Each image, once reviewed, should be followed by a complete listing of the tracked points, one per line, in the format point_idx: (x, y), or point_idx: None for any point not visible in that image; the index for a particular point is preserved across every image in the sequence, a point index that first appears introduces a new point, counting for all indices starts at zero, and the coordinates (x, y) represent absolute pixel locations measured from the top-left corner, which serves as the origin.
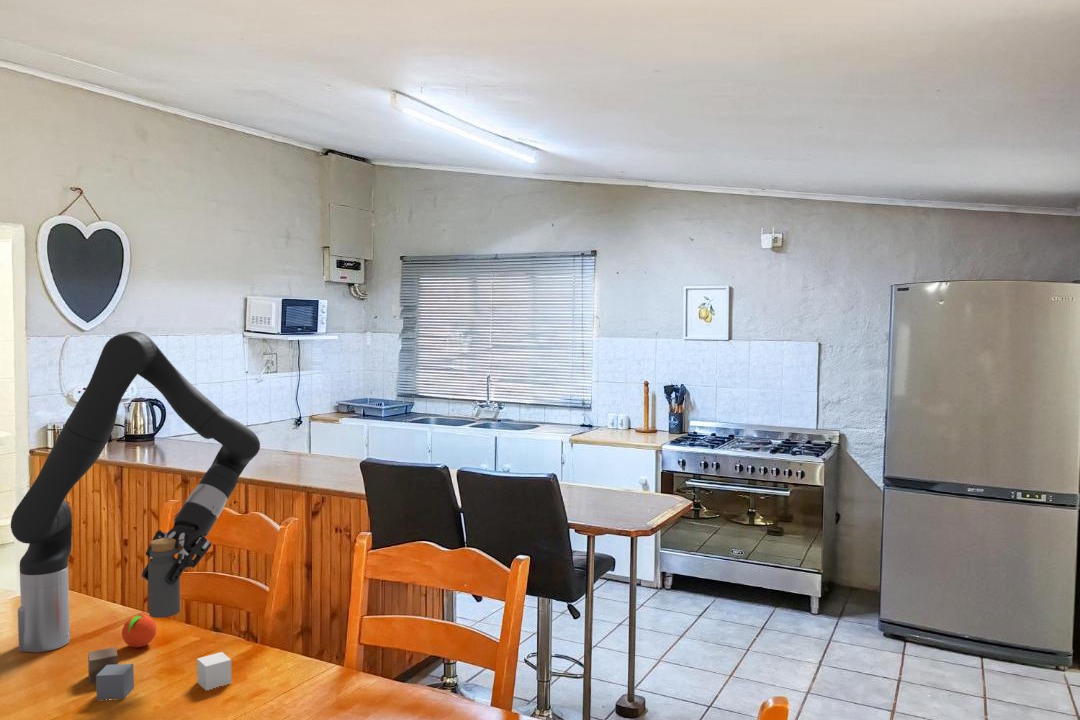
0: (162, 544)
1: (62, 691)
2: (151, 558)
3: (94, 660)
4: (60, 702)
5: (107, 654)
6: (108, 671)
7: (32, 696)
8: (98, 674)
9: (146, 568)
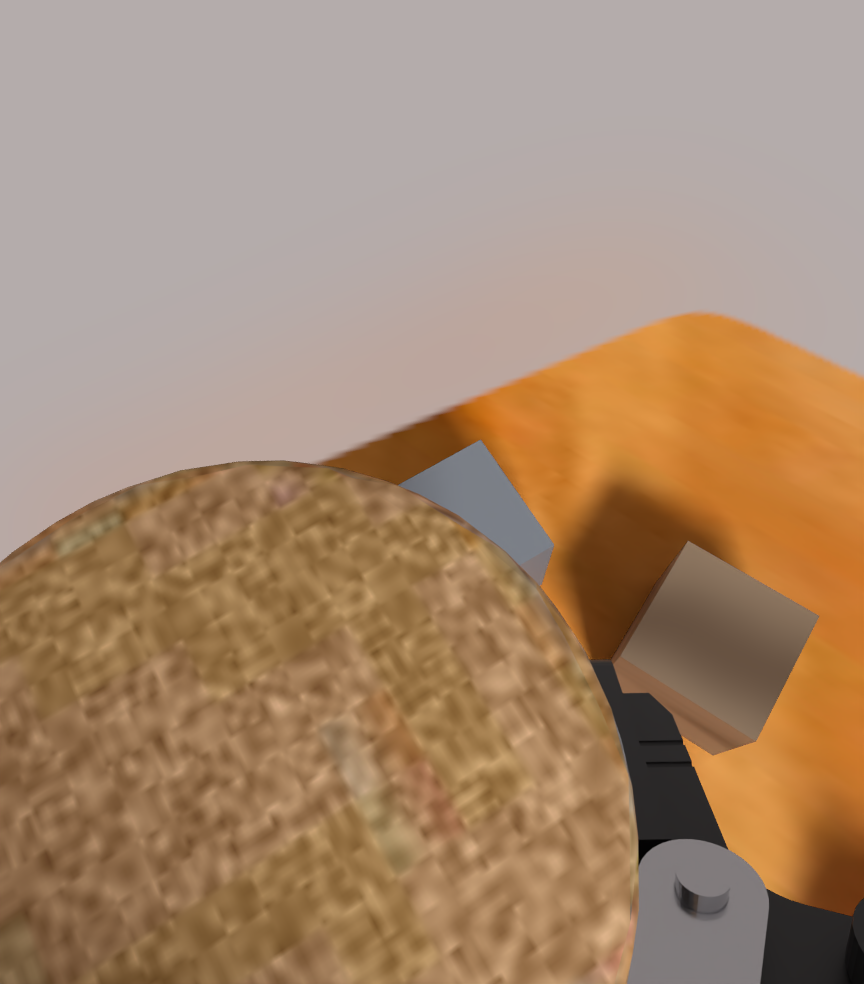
0: (4, 560)
1: (700, 486)
2: (685, 848)
3: (676, 561)
4: (601, 421)
5: (686, 640)
6: (469, 495)
7: (761, 407)
8: (482, 452)
9: (615, 718)
